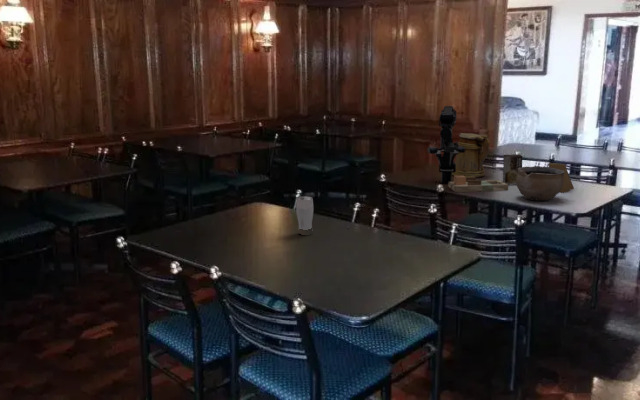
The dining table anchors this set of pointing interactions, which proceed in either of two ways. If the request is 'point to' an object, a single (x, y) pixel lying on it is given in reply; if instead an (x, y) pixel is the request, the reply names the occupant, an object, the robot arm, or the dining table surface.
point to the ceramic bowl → (539, 182)
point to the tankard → (471, 155)
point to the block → (460, 180)
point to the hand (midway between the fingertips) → (445, 165)
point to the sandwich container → (566, 178)
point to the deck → (478, 185)
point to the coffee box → (511, 168)
